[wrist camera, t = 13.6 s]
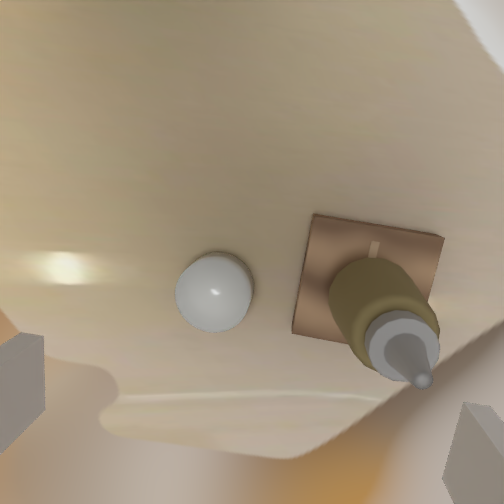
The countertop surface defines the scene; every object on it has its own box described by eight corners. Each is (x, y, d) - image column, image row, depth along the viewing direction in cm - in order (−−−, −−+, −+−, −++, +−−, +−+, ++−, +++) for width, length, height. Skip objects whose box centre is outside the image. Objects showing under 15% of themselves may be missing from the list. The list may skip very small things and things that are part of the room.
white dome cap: (178, 259, 44) (166, 268, 40) (245, 245, 42) (239, 253, 38) (195, 323, 45) (185, 337, 41) (260, 312, 44) (256, 326, 40)
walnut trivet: (313, 213, 41) (314, 216, 38) (435, 234, 40) (445, 238, 37) (291, 324, 44) (291, 334, 41) (405, 346, 43) (412, 357, 40)
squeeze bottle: (358, 233, 38) (415, 285, 21) (421, 280, 38) (530, 371, 21) (309, 293, 40) (322, 388, 22) (369, 338, 40) (429, 466, 23)
